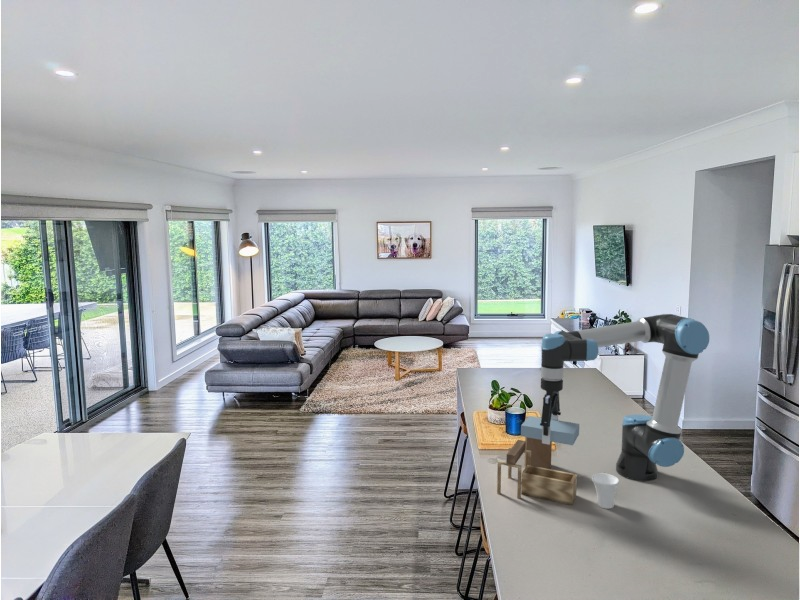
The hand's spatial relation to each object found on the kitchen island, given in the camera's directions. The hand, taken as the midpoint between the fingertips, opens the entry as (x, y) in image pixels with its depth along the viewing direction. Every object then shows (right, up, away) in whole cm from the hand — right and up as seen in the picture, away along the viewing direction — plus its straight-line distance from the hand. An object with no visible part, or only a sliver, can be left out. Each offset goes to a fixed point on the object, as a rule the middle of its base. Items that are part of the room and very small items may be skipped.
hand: (550, 437), depth 193 cm
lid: (0, +1, 0) cm, 1 cm away
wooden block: (+2, -19, +26) cm, 33 cm away
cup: (+18, -23, -3) cm, 29 cm away
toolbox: (-3, -22, +6) cm, 23 cm away
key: (-10, -9, +8) cm, 16 cm away
